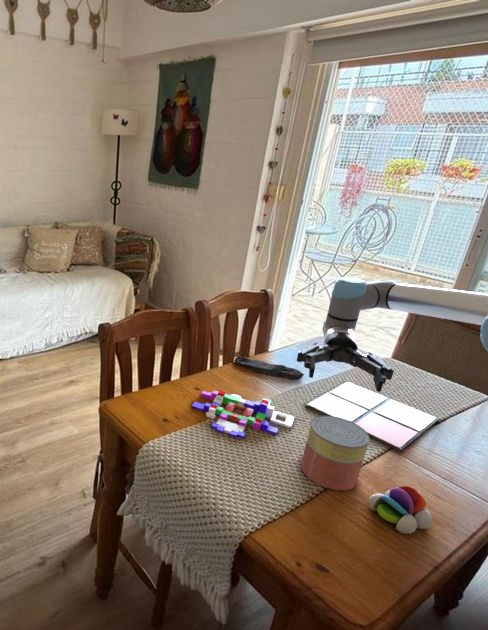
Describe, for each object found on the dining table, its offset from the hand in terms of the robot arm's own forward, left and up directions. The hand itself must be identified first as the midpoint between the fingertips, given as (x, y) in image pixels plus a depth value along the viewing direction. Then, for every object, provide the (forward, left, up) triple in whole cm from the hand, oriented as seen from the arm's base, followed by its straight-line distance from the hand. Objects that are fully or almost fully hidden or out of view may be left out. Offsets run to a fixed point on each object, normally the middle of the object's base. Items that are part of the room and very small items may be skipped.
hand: (345, 379), depth 101 cm
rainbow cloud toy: (-19, +10, -20) cm, 29 cm away
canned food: (-5, +9, -20) cm, 22 cm away
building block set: (+20, +7, -20) cm, 29 cm away
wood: (+32, -23, -20) cm, 45 cm away
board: (+1, -25, -20) cm, 32 cm away
